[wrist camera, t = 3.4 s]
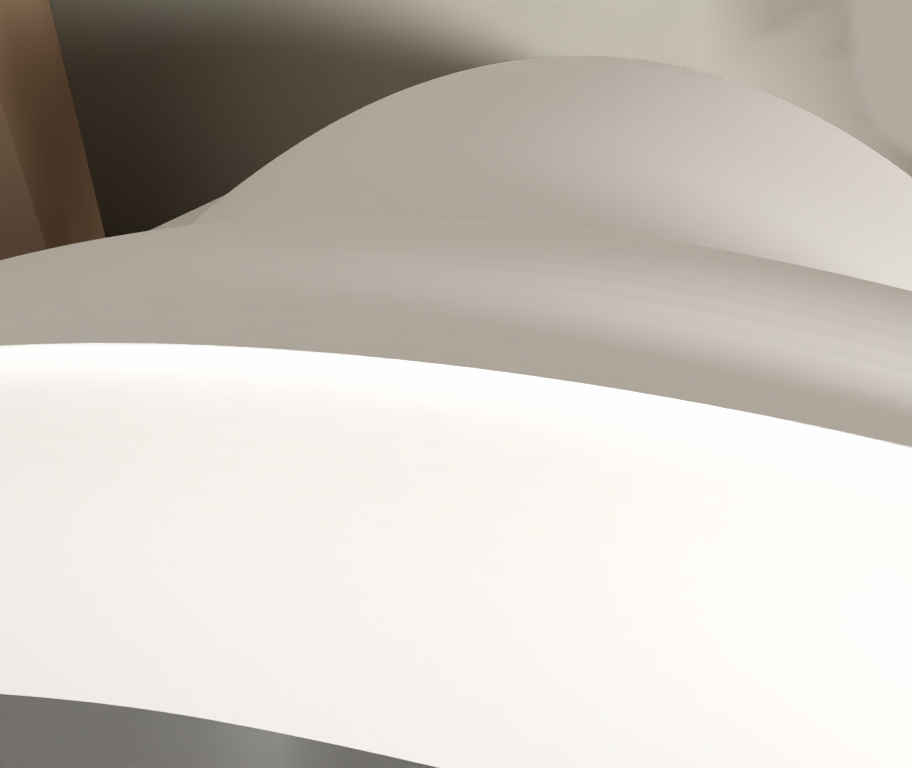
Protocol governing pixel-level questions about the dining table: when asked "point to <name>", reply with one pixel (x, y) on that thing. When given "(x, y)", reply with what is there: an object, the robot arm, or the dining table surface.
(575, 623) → the jar
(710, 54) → the dining table surface
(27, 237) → the beam
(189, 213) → the robot arm
